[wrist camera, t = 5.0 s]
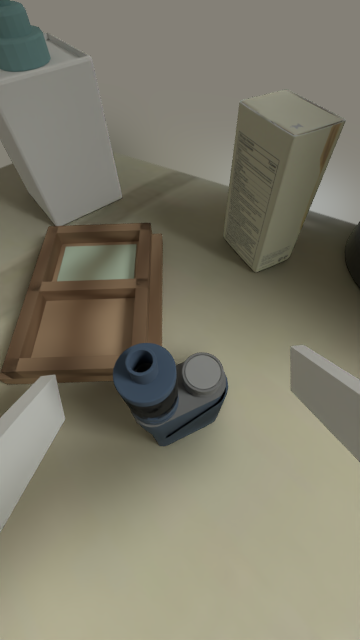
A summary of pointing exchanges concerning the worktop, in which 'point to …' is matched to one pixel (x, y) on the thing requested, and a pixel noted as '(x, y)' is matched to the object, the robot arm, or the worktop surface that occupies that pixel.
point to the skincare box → (276, 173)
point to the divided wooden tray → (87, 303)
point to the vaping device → (170, 390)
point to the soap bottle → (53, 120)
